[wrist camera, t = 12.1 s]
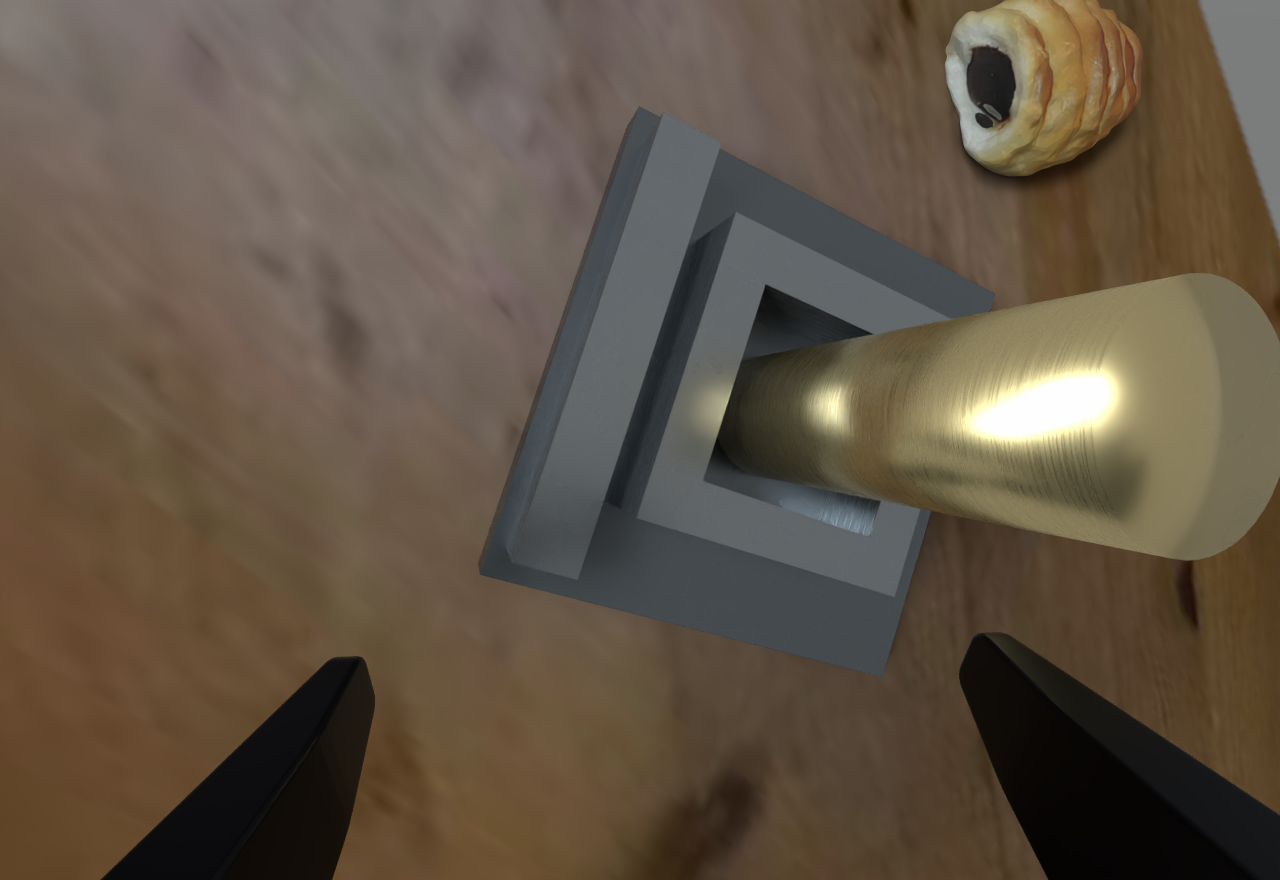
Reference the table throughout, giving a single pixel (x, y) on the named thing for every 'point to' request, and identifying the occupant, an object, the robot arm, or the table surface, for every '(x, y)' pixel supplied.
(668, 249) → the jig
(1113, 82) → the pastry
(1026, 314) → the sleeve
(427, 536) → the table surface
